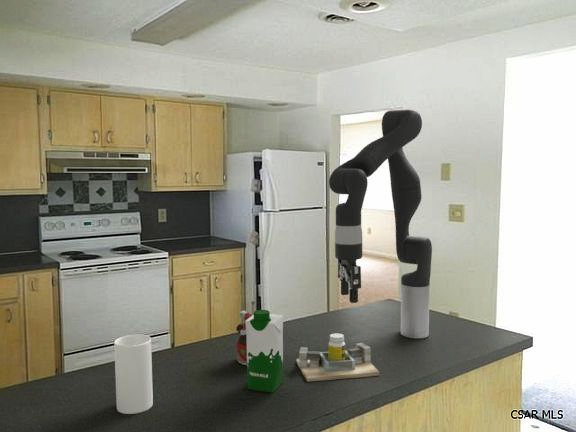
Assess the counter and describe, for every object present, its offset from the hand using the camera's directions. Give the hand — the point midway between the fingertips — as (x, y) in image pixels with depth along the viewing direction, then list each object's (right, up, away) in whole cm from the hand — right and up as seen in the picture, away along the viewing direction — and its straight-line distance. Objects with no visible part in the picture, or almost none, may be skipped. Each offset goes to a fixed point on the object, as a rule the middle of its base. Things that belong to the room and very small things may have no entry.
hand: (349, 298), depth 140 cm
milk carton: (-23, -21, -10) cm, 33 cm away
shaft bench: (-4, -20, 0) cm, 20 cm away
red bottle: (-27, -20, +6) cm, 34 cm away
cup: (-53, -22, -21) cm, 62 cm away
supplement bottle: (-3, -19, 0) cm, 19 cm away
